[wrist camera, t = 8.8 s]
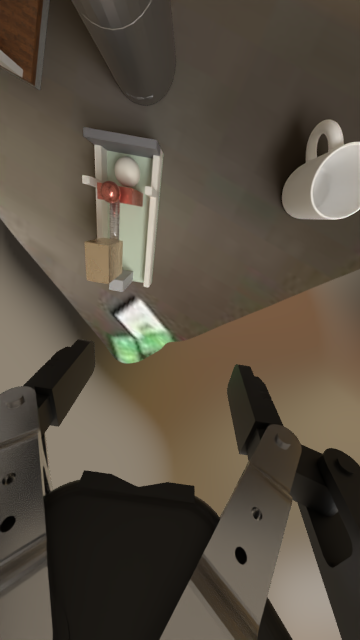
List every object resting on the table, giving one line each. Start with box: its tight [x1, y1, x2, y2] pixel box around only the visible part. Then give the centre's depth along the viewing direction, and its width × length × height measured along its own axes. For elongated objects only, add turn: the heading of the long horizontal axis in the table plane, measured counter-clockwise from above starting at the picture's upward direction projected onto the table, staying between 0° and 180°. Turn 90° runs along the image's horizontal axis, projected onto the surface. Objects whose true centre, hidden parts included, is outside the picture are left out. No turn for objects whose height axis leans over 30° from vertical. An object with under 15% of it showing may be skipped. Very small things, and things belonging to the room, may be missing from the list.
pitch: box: [82, 127, 163, 292], centre depth 35 cm, size 22×10×8 cm, turn 171°
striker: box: [85, 181, 143, 284], centre depth 31 cm, size 12×5×14 cm, turn 171°
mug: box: [282, 120, 360, 220], centre depth 30 cm, size 12×8×10 cm
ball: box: [114, 156, 140, 187], centre depth 33 cm, size 4×4×4 cm
